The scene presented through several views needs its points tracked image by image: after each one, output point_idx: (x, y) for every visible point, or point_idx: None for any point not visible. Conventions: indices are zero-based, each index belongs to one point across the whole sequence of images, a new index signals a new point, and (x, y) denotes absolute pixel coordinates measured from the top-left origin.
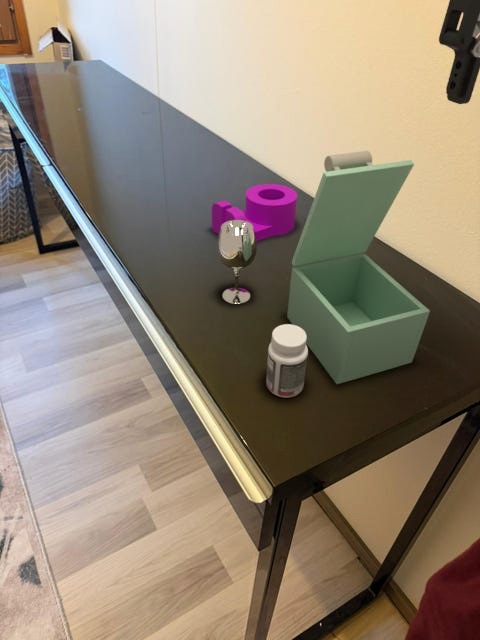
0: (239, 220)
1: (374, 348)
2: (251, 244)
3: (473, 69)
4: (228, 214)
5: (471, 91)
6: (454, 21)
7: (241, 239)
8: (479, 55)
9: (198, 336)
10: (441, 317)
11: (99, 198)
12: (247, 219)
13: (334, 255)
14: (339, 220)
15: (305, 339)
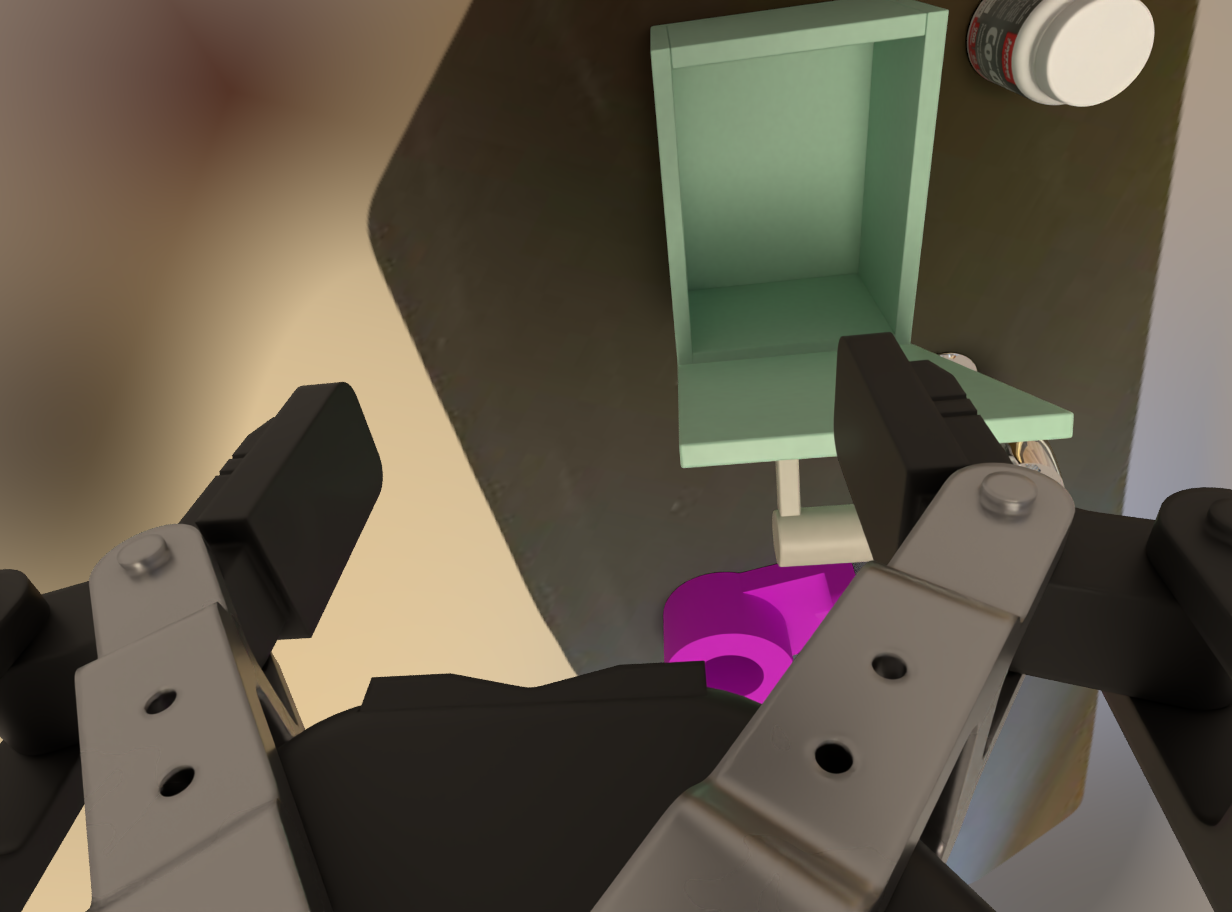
0: None
1: (812, 15)
2: None
3: (944, 424)
4: None
5: (868, 356)
6: (1211, 762)
7: (1025, 453)
8: (966, 472)
9: (1109, 260)
10: (477, 185)
11: (1047, 762)
12: (788, 626)
13: (787, 357)
14: None
15: (1072, 19)
